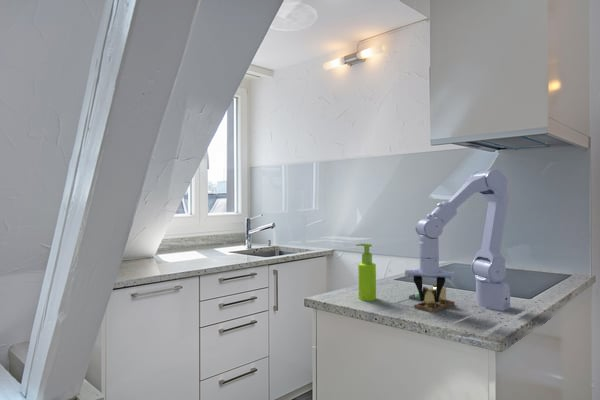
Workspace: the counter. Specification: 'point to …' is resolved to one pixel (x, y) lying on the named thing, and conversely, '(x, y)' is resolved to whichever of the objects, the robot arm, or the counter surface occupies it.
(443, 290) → the cylinder
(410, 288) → the counter surface
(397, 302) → the light blue shallow tray
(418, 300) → the button housing
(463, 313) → the counter surface
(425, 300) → the cylinder
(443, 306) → the wooden tray
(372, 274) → the soap dispenser
